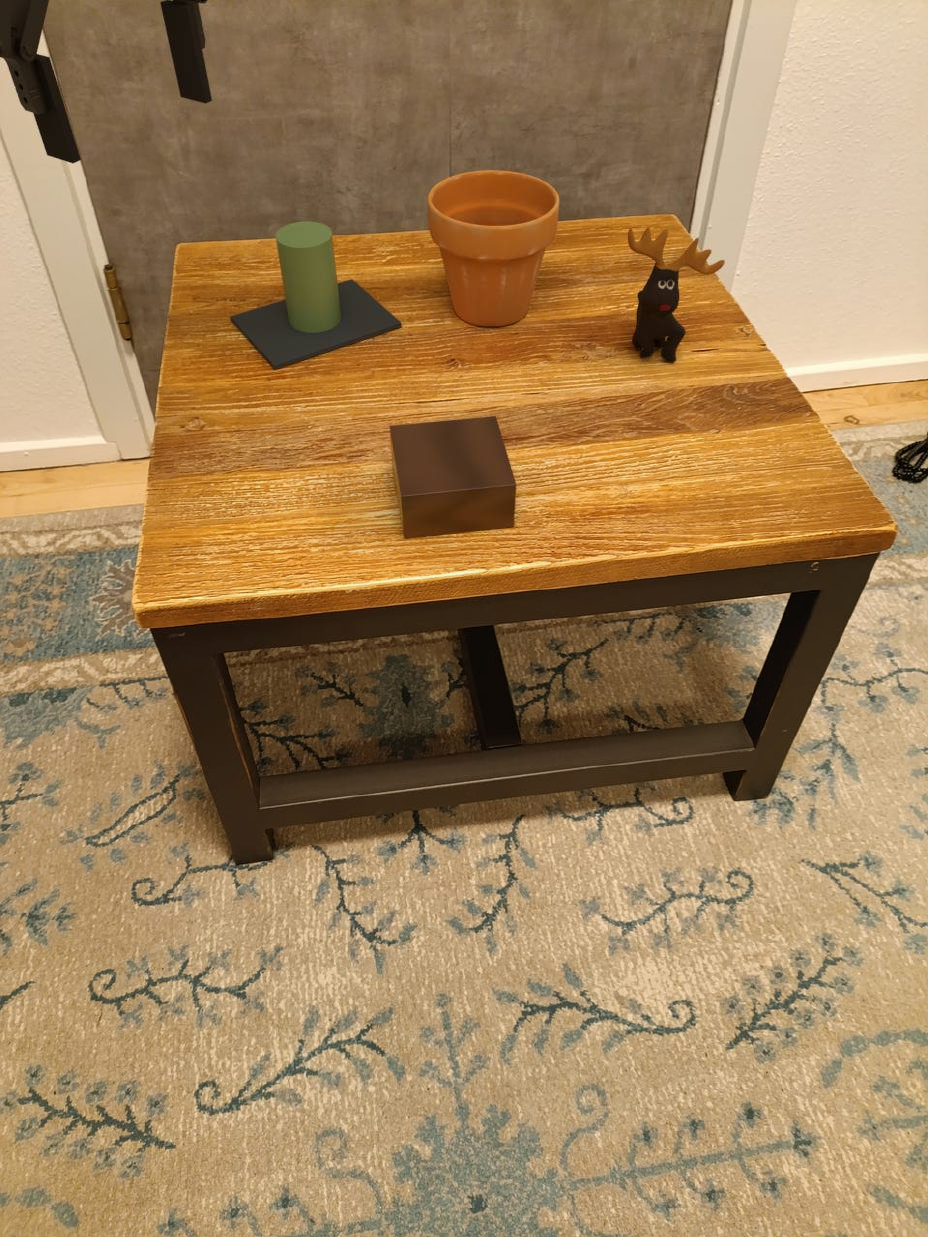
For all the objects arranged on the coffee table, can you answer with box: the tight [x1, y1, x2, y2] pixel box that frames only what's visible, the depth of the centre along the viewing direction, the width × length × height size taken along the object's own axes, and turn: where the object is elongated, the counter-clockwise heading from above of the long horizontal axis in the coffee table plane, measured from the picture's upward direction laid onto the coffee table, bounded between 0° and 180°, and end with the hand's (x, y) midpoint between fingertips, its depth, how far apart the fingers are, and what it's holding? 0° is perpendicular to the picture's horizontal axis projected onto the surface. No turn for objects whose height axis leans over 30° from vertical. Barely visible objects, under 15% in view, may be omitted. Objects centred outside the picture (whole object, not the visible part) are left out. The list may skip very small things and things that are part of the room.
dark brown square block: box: [389, 415, 517, 539], centre depth 82 cm, size 10×10×5 cm
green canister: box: [275, 220, 341, 333], centre depth 99 cm, size 6×6×10 cm
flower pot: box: [427, 169, 561, 328], centre depth 101 cm, size 14×14×13 cm
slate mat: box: [229, 278, 402, 371], centre depth 103 cm, size 16×12×1 cm
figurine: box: [627, 227, 726, 363], centre depth 94 cm, size 11×7×15 cm
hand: (134, 127), depth 68 cm, fingers open, 13 cm apart
